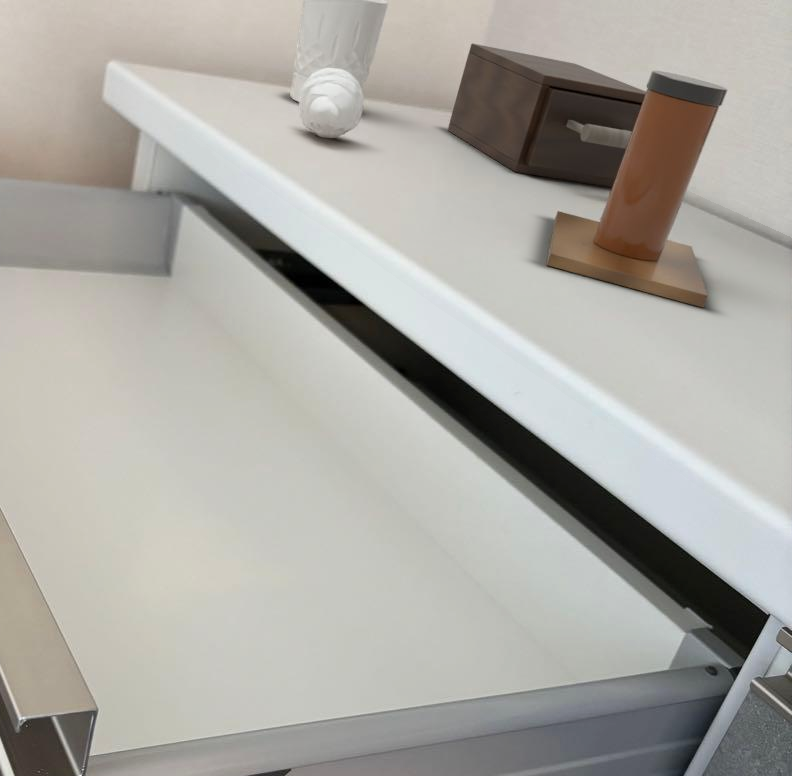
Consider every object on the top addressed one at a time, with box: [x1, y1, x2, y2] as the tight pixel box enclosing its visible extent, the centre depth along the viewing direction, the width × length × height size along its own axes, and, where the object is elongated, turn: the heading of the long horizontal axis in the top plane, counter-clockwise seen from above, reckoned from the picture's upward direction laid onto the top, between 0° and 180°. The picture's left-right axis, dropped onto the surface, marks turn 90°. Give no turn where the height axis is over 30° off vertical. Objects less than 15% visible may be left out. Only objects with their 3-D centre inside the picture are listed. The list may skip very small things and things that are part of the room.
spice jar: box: [593, 70, 728, 261], centre depth 72 cm, size 5×5×11 cm
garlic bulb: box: [298, 68, 365, 139], centre depth 90 cm, size 6×6×5 cm
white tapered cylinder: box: [289, 0, 389, 103], centre depth 105 cm, size 8×8×10 cm
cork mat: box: [546, 210, 709, 308], centre depth 75 cm, size 10×14×1 cm
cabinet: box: [447, 42, 647, 188], centre depth 102 cm, size 16×12×8 cm
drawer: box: [525, 86, 641, 180], centre depth 99 cm, size 19×10×6 cm, turn 14°
